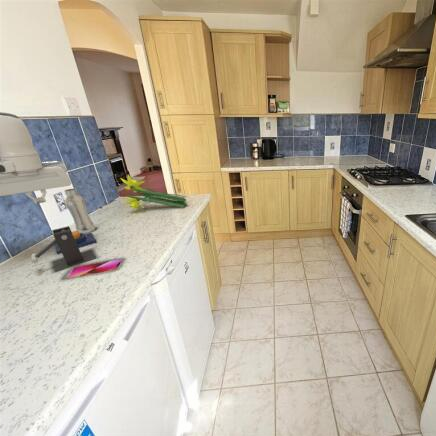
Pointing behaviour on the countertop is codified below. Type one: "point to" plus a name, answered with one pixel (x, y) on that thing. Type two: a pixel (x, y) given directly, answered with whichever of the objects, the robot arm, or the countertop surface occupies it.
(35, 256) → the switch lever
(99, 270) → the smartphone
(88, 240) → the boil block
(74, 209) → the plastic bottle
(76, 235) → the boil button
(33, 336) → the countertop surface
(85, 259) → the black stand
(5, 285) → the countertop surface
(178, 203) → the daffodil flowers
